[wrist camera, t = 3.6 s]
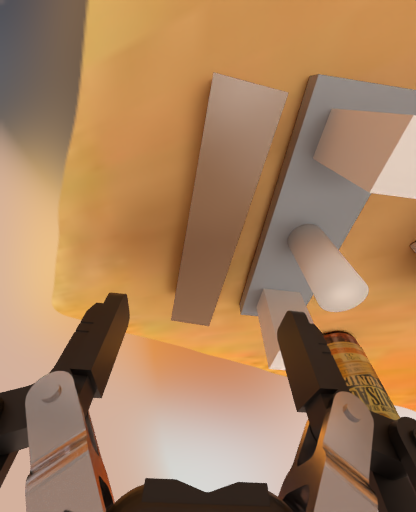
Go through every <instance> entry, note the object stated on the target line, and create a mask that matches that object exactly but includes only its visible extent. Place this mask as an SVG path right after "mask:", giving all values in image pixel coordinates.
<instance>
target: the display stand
mask: <svg viewBox="0 0 416 512" xmlns="http://www.w3.org/2000/svg"><path fill="white" fill-rule="evenodd" d="M371 193H375V194H382V195H390V196H397V197H405V198H412V199H416V90H412V89H406V88H400V87H394V86H388V85H382V84H375V83H369V82H363V81H357V80H351V79H345V78H339V77H332V76H326V75H320V74H318V75H314V76H310V77H309V80H308V84H307V87H306V90H305V94H304V97H303V100H302V103H301V107H300V110H299V113H298V116H297V120H296V123H295V126H294V129H293V133H292V136H291V139H290V142H289V146H288V149H287V152H286V155H285V159H284V162H283V165H282V168H281V172H280V175H279V178H278V181H277V185H276V188H275V191H274V194H273V198H272V201H271V204H270V207H269V211H268V214H267V217H266V220H265V224H264V227H263V230H262V233H261V237H260V240H259V243H258V246H257V250H256V253H255V256H254V259H253V263H252V266H251V269H250V272H249V276H248V279H247V282H246V285H245V289H244V292H243V295H242V298H241V302H240V312H241V315H251V316H258V317H259V322H260V327H261V332H262V337H263V342H264V346H265V351H266V356H267V361H268V366H269V369H278V370H286V369H285V366H284V362H283V359H282V355H281V351H280V348H279V344H278V340H277V330H278V327H279V325H280V323H281V322H282V320H283V318H284V316H285V314H286V312H287V311H298V312H304V313H305V314H306V316H307V318H308V320H309V323H310V324H314V323H313V320H312V318H311V316H310V314H309V311H308V309H307V307H306V306H307V304H308V302H309V301H310V299H311V297H312V295H313V294H314V296H315V298H316V300H317V302H318V304H319V306H320V307H321V308H322V309H324V310H326V311H330V312H341V311H346V310H349V309H351V308H354V307H356V306H357V305H359V304H360V303H361V302H363V301H364V299H365V298H366V297H367V295H368V291H369V289H368V286H367V284H366V283H365V282H364V280H363V279H362V278H361V277H360V276H359V274H358V273H357V272H356V271H355V270H354V268H353V267H352V266H351V265H350V263H349V262H348V261H347V260H346V259H345V257H344V256H343V255H342V254H341V253H340V251H339V248H340V247H341V245H342V243H343V242H344V240H345V238H346V236H347V235H348V233H349V231H350V229H351V228H352V226H353V224H354V222H355V221H356V219H357V217H358V216H359V214H360V212H361V210H362V209H363V207H364V205H365V203H366V202H367V200H368V198H369V196H370V195H371Z"/></svg>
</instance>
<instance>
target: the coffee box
mask: <svg viewBox="0 0 416 512" xmlns="http://www.w3.org/2000/svg"><path fill="white" fill-rule="evenodd" d="M410 247H411V248H412V249H413V250H414V252H415V253H416V242H415V243H413V244H411V245H410Z"/></svg>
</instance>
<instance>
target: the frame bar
mask: <svg viewBox="0 0 416 512" xmlns="http://www.w3.org/2000/svg"><path fill="white" fill-rule="evenodd" d="M287 96H288V92H284V91H281V90H277V89H273V88H269V87H266V86H262V85H258V84H255V83H251V82H247V81H244V80H240V79H236V78H232V77H229V76H225V75H221V74H218V73H213V78H212V84H211V90H210V96H209V102H208V108H207V113H206V119H205V125H204V131H203V137H202V143H201V148H200V154H199V160H198V166H197V172H196V178H195V183H194V189H193V195H192V201H191V207H190V213H189V218H188V224H187V230H186V236H185V242H184V248H183V254H182V259H181V265H180V271H179V277H178V283H177V289H176V294H175V300H174V306H173V312H172V318H171V320H172V321H179V322H185V323H192V324H199V325H205V326H209V325H210V322H211V319H212V316H213V313H214V310H215V307H216V304H217V301H218V298H219V295H220V292H221V290H222V287H223V284H224V281H225V278H226V275H227V272H228V269H229V266H230V263H231V260H232V257H233V254H234V251H235V248H236V246H237V243H238V240H239V237H240V234H241V231H242V228H243V225H244V222H245V219H246V216H247V213H248V210H249V207H250V205H251V202H252V199H253V196H254V193H255V190H256V187H257V184H258V181H259V178H260V175H261V172H262V169H263V166H264V163H265V161H266V158H267V155H268V152H269V149H270V146H271V143H272V140H273V137H274V134H275V131H276V128H277V125H278V122H279V120H280V117H281V114H282V111H283V108H284V105H285V102H286V99H287Z"/></svg>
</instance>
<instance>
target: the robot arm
mask: <svg viewBox="0 0 416 512" xmlns="http://www.w3.org/2000/svg"><path fill="white" fill-rule="evenodd" d="M129 316H130V314H129V306H128V298H127V295H126V294H119V293H109V294H108V296H107V298H106V300H105V302H104V304H103V303H96V304H95V305H93V306H92V307H91V308H90V309H89V310H88V311H87V312H86V313H85V315H84V317H83V319H82V320H81V323H80V324H79V326H78V327H77V329H76V332H75V333H74V334H73V336H72V337H71V339H70V341H69V343H68V344H67V346H66V348H65V349H64V351H63V353H62V355H61V356H60V358H59V360H58V362H57V363H56V365H55V366H54V368H53V369H52V370H51V372H50V373H49V374H47V375H45V376H43V377H42V378H40V379H39V380H38V381H37V382H36V383H34V384H32V385H29V386H26V387H23V388H18V389H14V390H10V391H6V392H2V393H0V487H1V485H2V483H3V481H4V479H5V477H6V475H7V473H8V471H9V469H10V467H11V465H12V463H13V461H14V459H15V457H16V455H17V453H18V451H19V450H21V449H24V448H27V447H29V452H30V464H31V470H30V474H29V475H28V477H27V480H26V487H25V496H26V511H27V512H378V511H379V512H416V495H415V493H414V491H413V489H412V487H411V485H410V483H409V481H408V478H407V477H409V479H410V481H411V483H412V485H413V488H414V490H415V492H416V420H414V419H412V418H409V417H401V418H399V419H398V420H396V421H394V420H392V419H390V418H387V417H385V416H383V415H380V414H378V413H375V412H373V411H371V410H369V409H368V408H367V406H366V405H365V404H364V403H363V402H362V401H361V400H360V399H359V398H358V397H357V396H355V395H353V394H351V392H350V391H349V389H348V387H347V385H346V383H345V381H344V378H343V376H342V374H341V372H340V370H339V368H338V366H337V364H336V361H335V359H334V357H333V355H331V351H330V349H329V347H328V346H327V342H326V340H325V338H324V336H323V334H322V332H321V331H320V330H319V329H318V328H317V327H316V326H315V324H310V323H309V320H308V318H307V316H306V314H305V313H304V312H298V311H287V312H286V314H285V316H284V318H283V320H282V322H281V323H280V325H279V327H278V330H277V340H278V344H279V348H280V351H281V355H282V359H283V362H284V366H285V369H286V373H287V377H288V380H289V384H290V388H291V391H292V395H293V399H294V402H295V406H296V410H297V412H306V413H307V416H308V421H307V422H306V426H305V428H304V431H303V434H302V438H301V441H300V444H299V447H298V450H297V453H296V456H295V459H294V462H293V465H292V467H291V469H290V471H289V472H288V474H287V475H286V478H285V479H284V482H283V484H282V487H281V490H280V493H279V496H278V497H277V496H276V495H274V494H273V493H271V492H269V491H268V487H267V483H247V482H246V483H245V482H237V483H234V484H231V485H229V486H226V487H223V488H220V489H217V490H215V491H212V492H204V491H201V490H199V489H197V488H194V487H192V486H189V485H188V484H185V483H183V482H180V481H178V480H174V479H150V478H146V479H145V484H144V485H141V486H139V487H136V488H134V489H132V490H130V491H129V492H128V493H126V494H125V495H123V496H122V497H121V498H120V499H118V500H117V501H116V502H114V498H113V494H112V490H111V486H110V483H109V479H108V476H107V472H106V470H105V466H104V464H103V461H102V458H101V454H100V451H99V447H98V444H97V440H96V436H95V432H94V429H93V425H92V421H91V418H90V414H89V407H90V405H91V402H92V399H93V398H102V396H103V393H104V390H105V387H106V385H107V382H108V379H109V376H110V374H111V371H112V368H113V365H114V363H115V360H116V357H117V354H118V351H119V349H120V346H121V343H122V341H123V338H124V335H125V332H126V330H127V327H128V323H129Z"/></svg>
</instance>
